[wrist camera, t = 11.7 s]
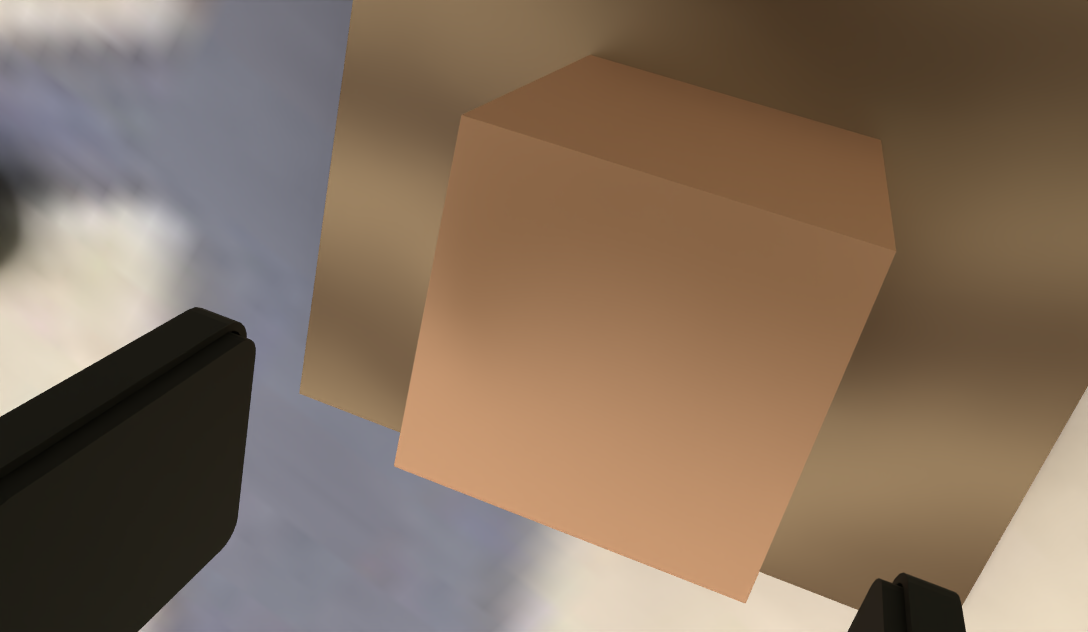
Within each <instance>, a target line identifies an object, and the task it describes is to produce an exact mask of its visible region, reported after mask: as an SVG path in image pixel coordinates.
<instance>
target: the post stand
mask: <svg viewBox="0 0 1088 632" xmlns="http://www.w3.org/2000/svg"><path fill="white" fill-rule="evenodd" d="M589 55H593V56H596V57H600V58H603V59H606V60H610V61H613V62H617V63H620V64H623V65H627V66H630V67H634V68H637V69H641V70H644V71H647V72H651V73H654V74H658V75H661V76H664V77H668V78H671V79H675V80H678V81H681V82H685V83H688V84H692V85H695V86H698V87H702V88H705V89H709V90H712V91H715V92H719V93H722V94H726V95H729V96H732V97H736V98H739V99H743V100H746V101H749V102H753V103H756V104H760V105H763V106H766V107H770V108H773V109H777V110H780V111H783V112H787V113H790V114H794V115H797V116H801V117H804V118H807V119H811V120H814V121H818V122H821V123H824V124H828V125H831V126H835V127H838V128H841V129H845V130H848V131H852V132H855V133H858V134H862V135H865V136H869V137H872V138H875V139H879V140H881V144H882V151H883V158H884V165H885V173H886V180H887V187H888V194H889V202H890V209H891V216H892V223H893V231H894V238H895V245H896V253H895V256H894V258H893V260H892V263H891V265H890V267H889V270H888V272H887V274H886V277H885V279H884V281H883V284H882V286H881V288H880V291H879V293H878V295H877V298H876V300H875V302H874V305H873V307H872V310H871V312H870V314H869V317H868V319H867V321H866V324H865V326H864V328H863V331H862V333H861V335H860V338H859V340H858V342H857V345H856V347H855V349H854V352H853V354H852V356H851V359H850V361H849V363H848V366H847V368H846V370H845V373H844V375H843V377H842V380H841V382H840V384H839V387H838V389H837V391H836V394H835V396H834V398H833V401H832V403H831V405H830V408H829V410H828V412H827V415H826V417H825V419H824V422H823V424H822V426H821V429H820V431H819V433H818V436H817V438H816V440H815V443H814V445H813V447H812V450H811V452H810V454H809V457H808V459H807V461H806V464H805V466H804V468H803V471H802V473H801V475H800V478H799V480H798V482H797V485H796V487H795V489H794V492H793V494H792V496H791V499H790V501H789V503H788V506H787V508H786V510H785V513H784V515H783V517H782V520H781V522H780V524H779V527H778V529H777V531H776V534H775V536H774V538H773V541H772V543H771V545H770V548H769V550H768V552H767V555H766V557H765V559H764V562H763V564H762V566H761V569H760V571H759V572H762V573H764V574H767V575H770V576H772V577H775V578H777V579H780V580H782V581H785V582H788V583H790V584H793V585H795V586H798V587H801V588H803V589H806V590H808V591H811V592H813V593H816V594H819V595H821V596H824V597H826V598H829V599H832V600H834V601H837V602H839V603H842V604H844V605H847V606H850V607H852V608H855V609H857V610H859V608H860V606H861V604H862V602H863V600H864V599H865V597H866V595H867V593H868V591H869V589H870V587H871V585H872V584H873V582H874V581H875V580H876V579H878V578H880V579H883V580H885V581H888V582H891V583H892V582H893V581H894V579H895V578H896V577H897V576H898V575H899V574H900V573H903V572H904V573H906V574H909V575H912V576H914V577H917V578H920V579H922V580H925V581H928V582H930V583H933V584H935V585H938V586H941V587H943V588H946V589H949V590H951V591H954V592H956V593H957V594H958V595H959V597H960V600H961V605H963V603H964V601H965V600H966V598H967V596H968V594H969V593H970V591H971V589H972V587H973V586H974V584H975V582H976V580H977V579H978V577H979V575H980V573H981V572H982V570H983V568H984V566H985V565H986V563H987V561H988V559H989V558H990V556H991V554H992V552H993V551H994V549H995V547H996V545H997V544H998V542H999V540H1000V538H1001V537H1002V535H1003V533H1004V531H1005V530H1006V528H1007V526H1008V524H1009V523H1010V521H1011V519H1012V517H1013V516H1014V514H1015V512H1016V510H1017V509H1018V507H1019V505H1020V503H1021V502H1022V500H1023V498H1024V496H1025V495H1026V493H1027V491H1028V489H1029V488H1030V486H1031V484H1032V482H1033V481H1034V479H1035V477H1036V475H1037V474H1038V472H1039V470H1040V468H1041V467H1042V465H1043V463H1044V461H1045V460H1046V458H1047V456H1048V455H1049V453H1050V451H1051V449H1052V448H1053V446H1054V444H1055V442H1056V441H1057V439H1058V437H1059V435H1060V434H1061V432H1062V430H1063V428H1064V427H1065V425H1066V423H1067V421H1068V420H1069V418H1070V416H1071V414H1072V413H1073V411H1074V409H1075V407H1076V406H1077V404H1078V402H1079V400H1080V399H1081V397H1082V395H1083V393H1084V392H1085V390H1086V388H1087V386H1088V0H353V5H352V12H351V19H350V27H349V34H348V41H347V49H346V56H345V63H344V71H343V78H342V85H341V93H340V100H339V107H338V115H337V122H336V129H335V137H334V144H333V151H332V159H331V166H330V173H329V181H328V188H327V195H326V203H325V210H324V217H323V224H322V232H321V239H320V246H319V254H318V261H317V268H316V276H315V283H314V290H313V298H312V305H311V312H310V320H309V327H308V334H307V342H306V349H305V356H304V364H303V371H302V378H301V386H300V394H302V395H305V396H307V397H310V398H313V399H315V400H318V401H320V402H323V403H325V404H328V405H331V406H333V407H336V408H338V409H341V410H344V411H346V412H349V413H351V414H354V415H356V416H359V417H362V418H364V419H367V420H369V421H372V422H375V423H377V424H380V425H382V426H385V427H387V428H390V429H393V430H395V431H398V432H401V427H402V422H403V417H404V411H405V406H406V401H407V396H408V391H409V385H410V380H411V375H412V370H413V364H414V359H415V354H416V349H417V344H418V338H419V333H420V328H421V323H422V317H423V312H424V307H425V302H426V297H427V291H428V286H429V281H430V276H431V271H432V265H433V260H434V255H435V250H436V244H437V239H438V234H439V229H440V224H441V218H442V213H443V208H444V203H445V198H446V192H447V187H448V182H449V177H450V171H451V166H452V161H453V156H454V151H455V145H456V140H457V135H458V130H459V125H460V119H461V115H462V114H465V113H467V112H469V111H471V110H473V109H475V108H477V107H479V106H482V105H484V104H486V103H488V102H490V101H492V100H494V99H497V98H499V97H501V96H503V95H505V94H507V93H509V92H512V91H514V90H516V89H518V88H520V87H522V86H524V85H527V84H529V83H531V82H533V81H535V80H537V79H539V78H542V77H544V76H546V75H548V74H550V73H552V72H554V71H556V70H559V69H561V68H563V67H565V66H567V65H569V64H571V63H574V62H576V61H578V60H580V59H582V58H584V57H586V56H589Z"/></svg>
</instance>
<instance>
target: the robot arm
mask: <svg viewBox="0 0 1088 632" xmlns="http://www.w3.org/2000/svg"><path fill="white" fill-rule="evenodd" d="M255 355H256V347H255V344H254V342H253V341H252V340H250V339H248V338H247V333H246V330H245V327H244V326H243V325H242V324H241V323H240V322H237V321H235V320H232V319H229V318H227V317H224V316H221V315H219V314H216V313H213V312H211V311H208V310H206V309H203V308H198V307H194V308H192V309H189V310H187V311H185V312H184V313H182V314H180V315H178V316H176V317H175V318H173V319H171V320H169V321H168V322H166V323H164V324H162V325H161V326H159V327H157V328H155V329H154V330H152V331H150V332H148V333H147V334H145V335H143V336H141V337H140V338H138V339H136V340H134V341H133V342H131V343H129V344H127V345H126V346H124V347H122V348H120V349H119V350H117V351H115V352H113V353H112V354H110V355H108V356H106V357H105V358H103V359H101V360H99V361H98V362H96V363H94V364H92V365H91V366H89V367H87V368H85V369H84V370H82V371H80V372H78V373H77V374H75V375H73V376H71V377H69V378H68V379H66V380H64V381H62V382H61V383H59V384H57V385H55V386H54V387H52V388H50V389H48V390H47V391H45V392H43V393H41V394H40V395H38V396H36V397H34V398H33V399H31V400H29V401H27V402H26V403H24V404H22V405H20V406H19V407H17V408H15V409H13V410H12V411H10V412H8V413H6V414H5V415H3V416H1V417H0V632H138V631H139V630H140V629H141V628H142V627H143V626H144V625H145V624H146V623H147V622H148V621H149V620H150V619H151V618H152V617H153V616H154V615H155V614H156V613H157V612H158V611H159V610H160V609H161V608H162V607H163V606H165V605H166V604H167V603H168V602H169V601H170V600H171V599H172V598H173V597H174V596H175V595H176V594H177V593H178V592H179V591H180V590H181V589H182V588H183V587H184V586H185V585H186V584H187V583H188V582H189V581H190V580H191V579H192V578H193V577H194V576H195V575H196V574H197V573H198V572H199V571H200V570H201V569H202V568H203V567H204V566H205V565H206V564H207V563H208V562H209V561H210V560H211V559H212V558H213V557H214V556H215V555H217V554H218V553H219V552H220V551H221V550H222V548H223V547H224V546H225V545H226V544H227V542H228V540H229V539H230V537H231V535H232V533H233V531H234V529H235V526H236V523H237V518H238V510H239V501H240V492H241V482H242V473H243V464H244V455H245V446H246V437H247V428H248V418H249V409H250V400H251V391H252V382H253V373H254V364H255ZM848 632H966V629H965V623H964V617H963V611H962V605H961V600H960V597H959V595H958V594H957V593H956V592H954V591H951V590H949V589H946V588H943V587H941V586H938V585H935V584H933V583H930V582H928V581H925V580H922V579H920V578H917V577H914V576H912V575H909V574H906V573H904V572H903V573H900V574H899V575H898V576H897V577H896V578H895V579H894V581H893V582H892V583H891V582H888V581H885V580H883V579H880V578H878V579H876V580H875V581H874V582H873V584H872V585H871V587H870V589H869V591H868V593H867V595H866V597H865V599H864V600H863V602H862V604H861V606H860V608H859V610H858V612H857V614H856V616H855V618H854V620H853V622H852V624H851V626H850V628H849V630H848Z"/></svg>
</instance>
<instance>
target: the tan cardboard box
mask: <svg viewBox="0 0 1088 632" xmlns="http://www.w3.org/2000/svg"><path fill="white" fill-rule="evenodd" d="M895 253H896V245H895V238H894V231H893V223H892V216H891V209H890V202H889V194H888V187H887V180H886V173H885V165H884V158H883V151H882V144H881V140H879V139H875V138H872V137H869V136H865V135H862V134H858V133H855V132H852V131H848V130H845V129H841V128H838V127H835V126H831V125H828V124H824V123H821V122H818V121H814V120H811V119H807V118H804V117H801V116H797V115H794V114H790V113H787V112H783V111H780V110H777V109H773V108H770V107H766V106H763V105H760V104H756V103H753V102H749V101H746V100H743V99H739V98H736V97H732V96H729V95H726V94H722V93H719V92H715V91H712V90H709V89H705V88H702V87H698V86H695V85H692V84H688V83H685V82H681V81H678V80H675V79H671V78H668V77H664V76H661V75H658V74H654V73H651V72H647V71H644V70H641V69H637V68H634V67H630V66H627V65H623V64H620V63H617V62H613V61H610V60H606V59H603V58H600V57H596V56H593V55H589V56H586V57H584V58H582V59H580V60H578V61H576V62H574V63H571V64H569V65H567V66H565V67H563V68H561V69H559V70H556V71H554V72H552V73H550V74H548V75H546V76H544V77H542V78H539V79H537V80H535V81H533V82H531V83H529V84H527V85H524V86H522V87H520V88H518V89H516V90H514V91H512V92H509V93H507V94H505V95H503V96H501V97H499V98H497V99H494V100H492V101H490V102H488V103H486V104H484V105H482V106H479V107H477V108H475V109H473V110H471V111H469V112H467V113H465V114H462V115H461V119H460V125H459V130H458V135H457V140H456V145H455V151H454V156H453V161H452V166H451V171H450V177H449V182H448V187H447V192H446V198H445V203H444V208H443V213H442V218H441V224H440V229H439V234H438V239H437V244H436V250H435V255H434V260H433V265H432V271H431V276H430V281H429V286H428V291H427V297H426V302H425V307H424V312H423V317H422V323H421V328H420V333H419V338H418V344H417V349H416V354H415V359H414V364H413V370H412V375H411V380H410V385H409V391H408V396H407V401H406V406H405V411H404V417H403V422H402V427H401V432H400V437H399V443H398V448H397V453H396V458H395V464H394V466H395V467H397V468H400V469H402V470H405V471H408V472H410V473H413V474H415V475H418V476H420V477H423V478H425V479H428V480H431V481H433V482H436V483H438V484H441V485H443V486H446V487H448V488H451V489H454V490H456V491H459V492H461V493H464V494H466V495H469V496H472V497H474V498H477V499H479V500H482V501H484V502H487V503H489V504H492V505H495V506H497V507H500V508H502V509H505V510H507V511H510V512H513V513H515V514H518V515H520V516H523V517H525V518H528V519H530V520H533V521H536V522H538V523H541V524H543V525H546V526H548V527H551V528H553V529H556V530H559V531H561V532H564V533H566V534H569V535H571V536H574V537H577V538H579V539H582V540H584V541H587V542H589V543H592V544H594V545H597V546H600V547H602V548H605V549H607V550H610V551H612V552H615V553H618V554H620V555H623V556H625V557H628V558H630V559H633V560H635V561H638V562H641V563H643V564H646V565H648V566H651V567H653V568H656V569H658V570H661V571H664V572H666V573H669V574H671V575H674V576H676V577H679V578H682V579H684V580H687V581H689V582H692V583H694V584H697V585H699V586H702V587H705V588H707V589H710V590H712V591H715V592H717V593H720V594H722V595H725V596H728V597H730V598H733V599H735V600H738V601H740V602H743V603H746V601H747V599H748V597H749V594H750V592H751V590H752V587H753V585H754V583H755V580H756V578H757V576H758V573H759V571H760V569H761V566H762V564H763V562H764V559H765V557H766V555H767V552H768V550H769V548H770V545H771V543H772V541H773V538H774V536H775V534H776V531H777V529H778V527H779V524H780V522H781V520H782V517H783V515H784V513H785V510H786V508H787V506H788V503H789V501H790V499H791V496H792V494H793V492H794V489H795V487H796V485H797V482H798V480H799V478H800V475H801V473H802V471H803V468H804V466H805V464H806V461H807V459H808V457H809V454H810V452H811V450H812V447H813V445H814V443H815V440H816V438H817V436H818V433H819V431H820V429H821V426H822V424H823V422H824V419H825V417H826V415H827V412H828V410H829V408H830V405H831V403H832V401H833V398H834V396H835V394H836V391H837V389H838V387H839V384H840V382H841V380H842V377H843V375H844V373H845V370H846V368H847V366H848V363H849V361H850V359H851V356H852V354H853V352H854V349H855V347H856V345H857V342H858V340H859V338H860V335H861V333H862V331H863V328H864V326H865V324H866V321H867V319H868V317H869V314H870V312H871V310H872V307H873V305H874V302H875V300H876V298H877V295H878V293H879V291H880V288H881V286H882V284H883V281H884V279H885V277H886V274H887V272H888V270H889V267H890V265H891V263H892V260H893V258H894V256H895Z"/></svg>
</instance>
